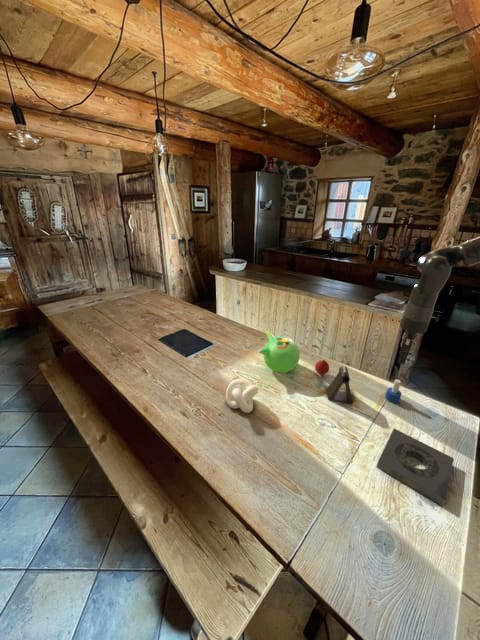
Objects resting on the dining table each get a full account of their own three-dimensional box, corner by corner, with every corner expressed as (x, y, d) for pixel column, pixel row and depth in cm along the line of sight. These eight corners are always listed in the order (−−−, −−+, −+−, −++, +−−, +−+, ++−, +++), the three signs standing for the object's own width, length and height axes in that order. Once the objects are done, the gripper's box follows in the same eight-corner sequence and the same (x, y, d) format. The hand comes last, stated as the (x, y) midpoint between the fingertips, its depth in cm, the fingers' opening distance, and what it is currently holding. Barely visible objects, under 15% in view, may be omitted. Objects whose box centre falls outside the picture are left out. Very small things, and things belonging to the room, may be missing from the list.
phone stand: (350, 393, 105) (356, 368, 100) (352, 403, 100) (359, 377, 95) (326, 389, 107) (331, 364, 102) (327, 399, 102) (333, 374, 97)
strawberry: (311, 371, 118) (314, 355, 114) (323, 369, 119) (326, 354, 115) (317, 379, 113) (320, 363, 109) (330, 377, 114) (333, 362, 110)
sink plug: (393, 394, 105) (399, 376, 102) (401, 402, 101) (408, 384, 97) (382, 394, 105) (388, 377, 101) (389, 403, 100) (396, 385, 97)
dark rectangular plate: (391, 433, 88) (393, 428, 87) (450, 463, 78) (453, 458, 77) (376, 466, 77) (378, 460, 76) (442, 506, 67) (445, 500, 66)
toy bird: (296, 382, 111) (300, 352, 104) (256, 375, 114) (258, 346, 108) (299, 359, 126) (302, 331, 120) (264, 353, 130) (265, 327, 124)
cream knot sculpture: (218, 409, 96) (218, 390, 92) (234, 390, 106) (234, 371, 102) (247, 420, 92) (248, 401, 88) (260, 399, 101) (261, 380, 97)
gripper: (428, 327, 79) (412, 371, 86) (432, 312, 89) (417, 352, 96) (400, 320, 83) (386, 363, 90) (407, 306, 93) (394, 346, 100)
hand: (402, 357), depth 93 cm, fingers open, 8 cm apart
